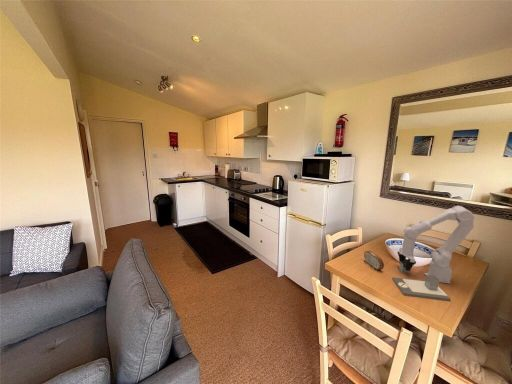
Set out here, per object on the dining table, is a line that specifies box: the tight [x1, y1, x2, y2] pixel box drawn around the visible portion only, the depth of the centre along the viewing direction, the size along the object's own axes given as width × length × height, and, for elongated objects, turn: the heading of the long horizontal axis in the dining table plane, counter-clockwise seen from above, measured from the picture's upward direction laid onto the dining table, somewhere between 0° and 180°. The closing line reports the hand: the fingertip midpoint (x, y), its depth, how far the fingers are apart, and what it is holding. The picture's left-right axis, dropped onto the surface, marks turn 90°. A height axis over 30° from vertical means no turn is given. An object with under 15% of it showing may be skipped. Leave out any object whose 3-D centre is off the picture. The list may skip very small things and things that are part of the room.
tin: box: [363, 250, 385, 271], centre depth 136 cm, size 15×3×8 cm, turn 10°
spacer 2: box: [424, 275, 440, 290], centre depth 113 cm, size 4×4×6 cm
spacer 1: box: [398, 261, 411, 275], centre depth 131 cm, size 4×4×6 cm
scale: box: [391, 276, 451, 302], centre depth 115 cm, size 21×14×2 cm, turn 79°
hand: (404, 266), depth 131 cm, fingers open, 7 cm apart
